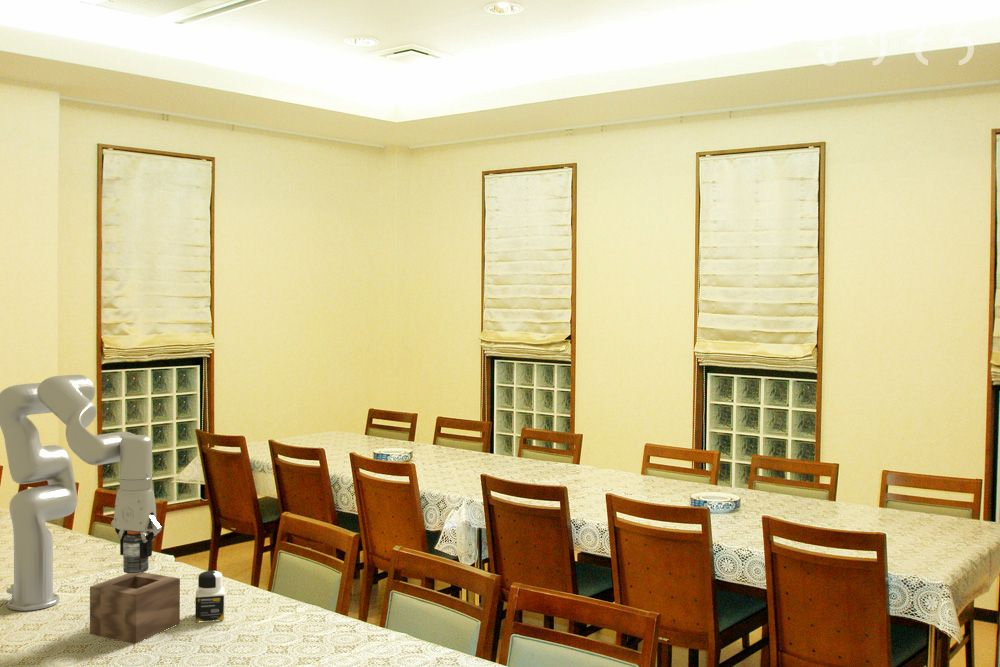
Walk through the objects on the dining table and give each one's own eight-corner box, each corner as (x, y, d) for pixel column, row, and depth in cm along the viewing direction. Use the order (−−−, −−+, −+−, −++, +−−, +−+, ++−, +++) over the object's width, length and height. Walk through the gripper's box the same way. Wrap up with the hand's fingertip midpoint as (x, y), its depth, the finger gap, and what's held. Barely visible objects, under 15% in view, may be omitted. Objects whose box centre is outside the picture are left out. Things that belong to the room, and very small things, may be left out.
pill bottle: (140, 566, 240) (140, 522, 239) (153, 570, 236) (153, 526, 236) (118, 571, 235) (118, 526, 235) (130, 575, 231) (130, 530, 231)
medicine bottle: (195, 623, 241) (195, 577, 241) (196, 614, 248) (196, 569, 248) (224, 621, 243) (224, 575, 243) (224, 612, 250) (224, 568, 250)
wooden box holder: (89, 634, 232) (89, 586, 232) (134, 615, 246) (135, 570, 246) (136, 643, 226) (136, 594, 226) (179, 624, 240) (179, 578, 240)
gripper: (98, 484, 235) (98, 555, 235) (151, 490, 228) (151, 563, 229) (121, 479, 242) (121, 548, 242) (173, 485, 235) (173, 555, 236)
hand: (136, 554), depth 236 cm, fingers closed on pill bottle, 6 cm apart
